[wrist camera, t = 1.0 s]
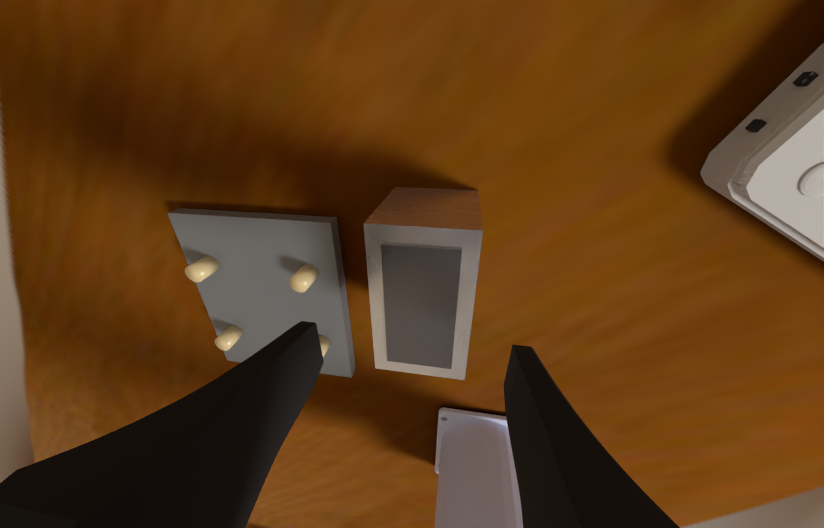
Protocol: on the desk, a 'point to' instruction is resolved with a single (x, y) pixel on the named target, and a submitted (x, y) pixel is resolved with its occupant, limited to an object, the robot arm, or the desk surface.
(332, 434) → the desk surface
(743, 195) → the intercom
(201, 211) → the tray
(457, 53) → the desk surface
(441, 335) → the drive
